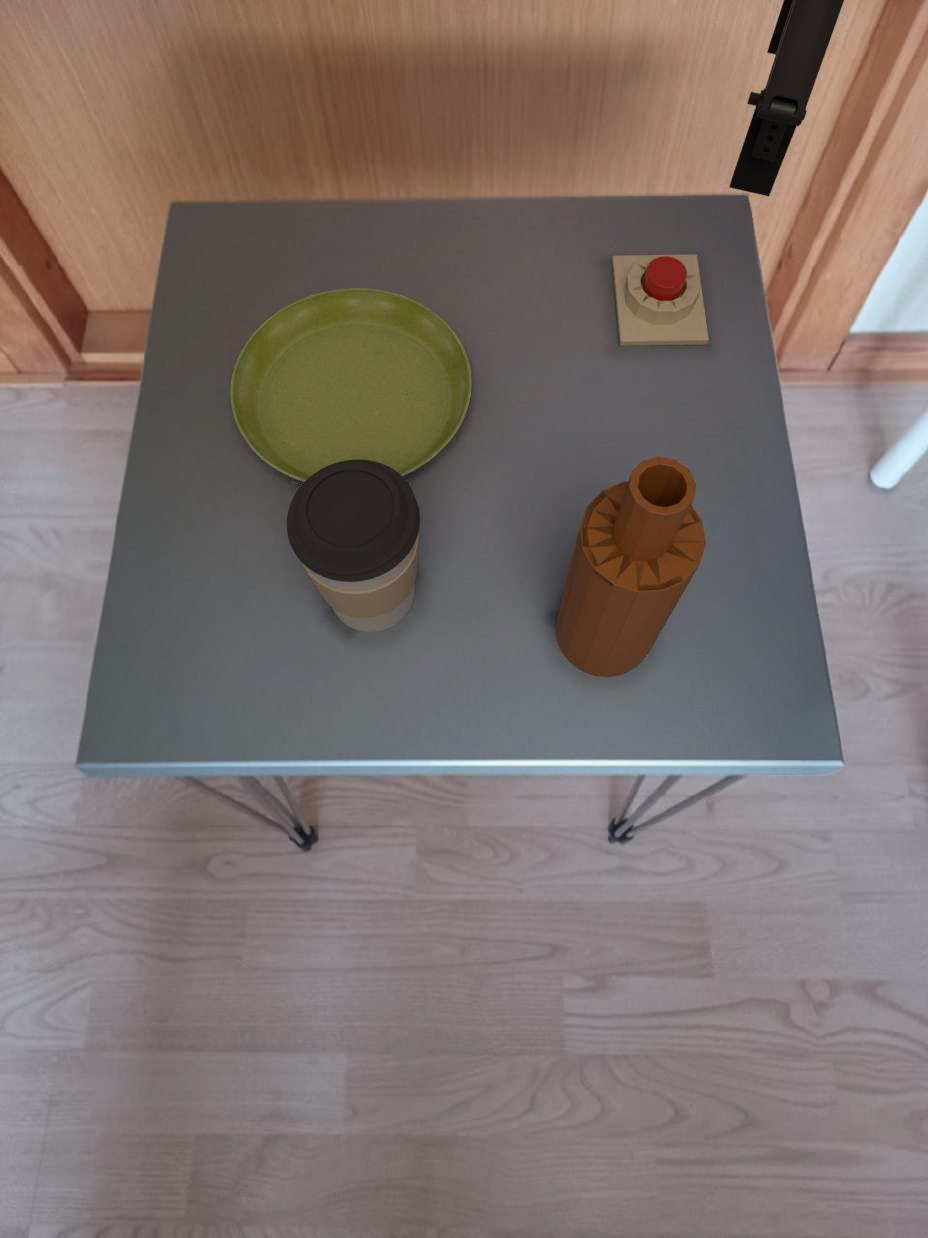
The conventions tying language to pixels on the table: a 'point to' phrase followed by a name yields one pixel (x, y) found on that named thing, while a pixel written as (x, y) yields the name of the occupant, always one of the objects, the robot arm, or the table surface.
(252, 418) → the green plate
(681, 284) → the power button
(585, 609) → the brown bottle
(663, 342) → the cream button plate
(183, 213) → the table surface
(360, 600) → the coffee cup
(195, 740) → the table surface
